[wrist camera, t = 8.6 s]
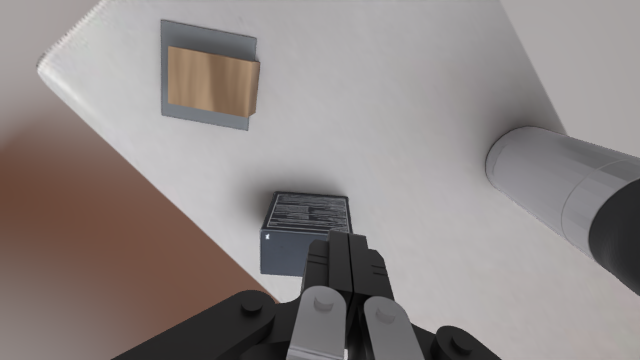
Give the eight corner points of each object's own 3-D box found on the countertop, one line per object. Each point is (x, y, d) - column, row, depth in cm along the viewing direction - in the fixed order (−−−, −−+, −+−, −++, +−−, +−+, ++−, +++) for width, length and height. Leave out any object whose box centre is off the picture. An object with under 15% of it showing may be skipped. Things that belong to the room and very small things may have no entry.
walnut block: (252, 62, 33) (168, 46, 32) (247, 117, 35) (168, 103, 34) (260, 62, 36) (184, 48, 36) (255, 112, 39) (183, 99, 38)
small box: (273, 230, 45) (257, 277, 35) (273, 190, 43) (257, 227, 33) (344, 236, 45) (349, 284, 35) (349, 195, 43) (355, 235, 33)
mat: (256, 38, 36) (255, 38, 36) (247, 130, 40) (247, 130, 39) (162, 20, 36) (160, 20, 35) (163, 114, 39) (161, 115, 39)
